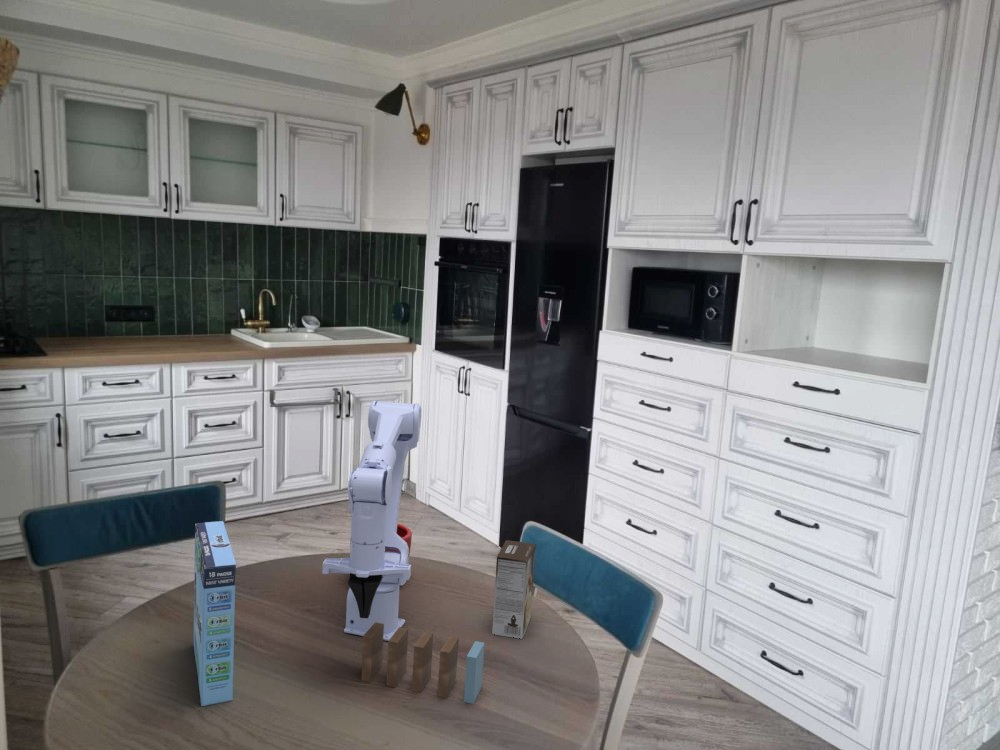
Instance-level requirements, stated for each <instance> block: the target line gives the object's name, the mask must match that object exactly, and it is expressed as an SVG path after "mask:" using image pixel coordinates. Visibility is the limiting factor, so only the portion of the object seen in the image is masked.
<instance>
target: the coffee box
mask: <svg viewBox="0 0 1000 750" xmlns="http://www.w3.org/2000/svg"><path fill="white" fill-rule="evenodd" d="M536 548H537V543H533V542H525V541H524V542H523V541H514V540H508V539H507V540H505V542H504V543H503V545H502V546H501V548H500V549H499V552H498V554H497V556H496V565H495V566H496V567H495V578H494V579H495V580H494V594H493V596H494V598H493V612H492V614H493V616H492V626H491V627H492V628H491V629H492V630H491V633H492V635H494V634H495V636H501V637H508V638H513V637H514V638H513V639H519V638H520V639H519V640H523V639H524V637H525V634H526V631H527V628H528V626H529V624H530V620H531V617H532V603H533V602H532V601H533V591H534V589H533V588H534V575H535V564H536V563H535V561H536V550H537V549H536Z"/></svg>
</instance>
